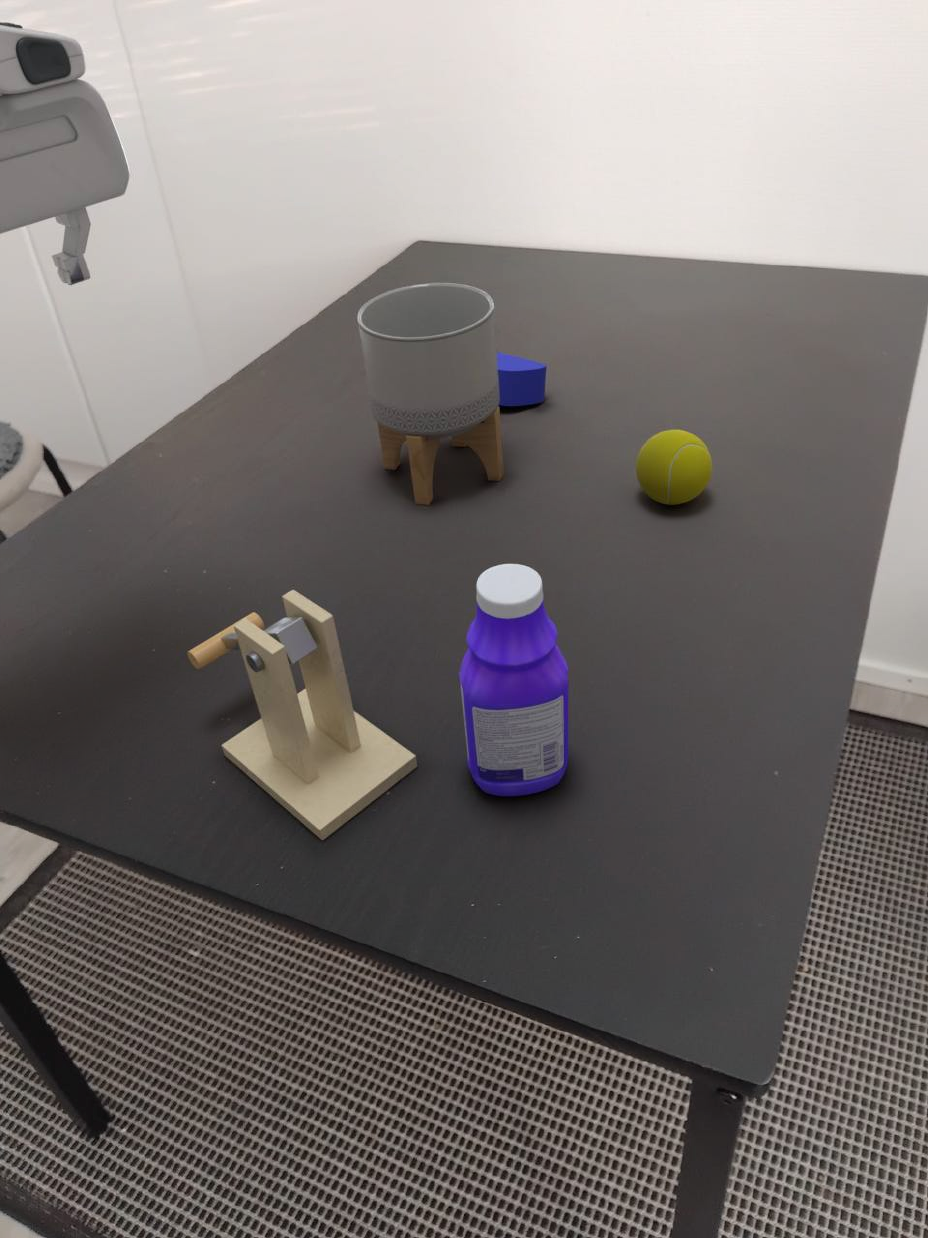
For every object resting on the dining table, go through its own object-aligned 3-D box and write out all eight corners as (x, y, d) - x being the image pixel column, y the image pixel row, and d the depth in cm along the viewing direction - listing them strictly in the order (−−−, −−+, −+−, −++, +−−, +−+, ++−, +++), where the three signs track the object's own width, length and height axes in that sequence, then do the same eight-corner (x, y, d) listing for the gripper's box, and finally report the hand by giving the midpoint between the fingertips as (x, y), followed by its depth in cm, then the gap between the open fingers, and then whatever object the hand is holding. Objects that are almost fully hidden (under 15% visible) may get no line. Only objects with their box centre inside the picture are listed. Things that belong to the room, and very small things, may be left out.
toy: (450, 390, 121) (435, 415, 113) (452, 345, 118) (436, 367, 110) (547, 399, 119) (538, 424, 111) (551, 353, 116) (542, 376, 108)
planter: (482, 511, 97) (468, 342, 86) (363, 497, 101) (334, 333, 90) (518, 446, 106) (510, 285, 95) (408, 435, 110) (387, 279, 99)
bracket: (224, 755, 74) (176, 616, 66) (317, 692, 79) (283, 554, 70) (322, 841, 67) (282, 698, 59) (417, 766, 72) (394, 623, 63)
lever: (197, 674, 74) (181, 646, 73) (261, 634, 77) (247, 607, 76) (269, 680, 63) (251, 648, 63) (340, 633, 66) (324, 602, 66)
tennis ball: (723, 502, 95) (729, 438, 91) (665, 526, 93) (669, 462, 88) (677, 471, 100) (681, 409, 95) (621, 493, 98) (622, 431, 93)
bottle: (561, 735, 73) (556, 546, 62) (576, 794, 69) (575, 602, 58) (464, 749, 73) (443, 562, 62) (474, 809, 68) (453, 618, 57)
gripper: (-262, 117, 49) (-132, 374, 58) (104, 37, 59) (167, 265, 68) (-294, 104, 52) (-167, 347, 61) (56, 31, 63) (122, 248, 72)
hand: (11, 303), depth 65 cm, fingers open, 8 cm apart
